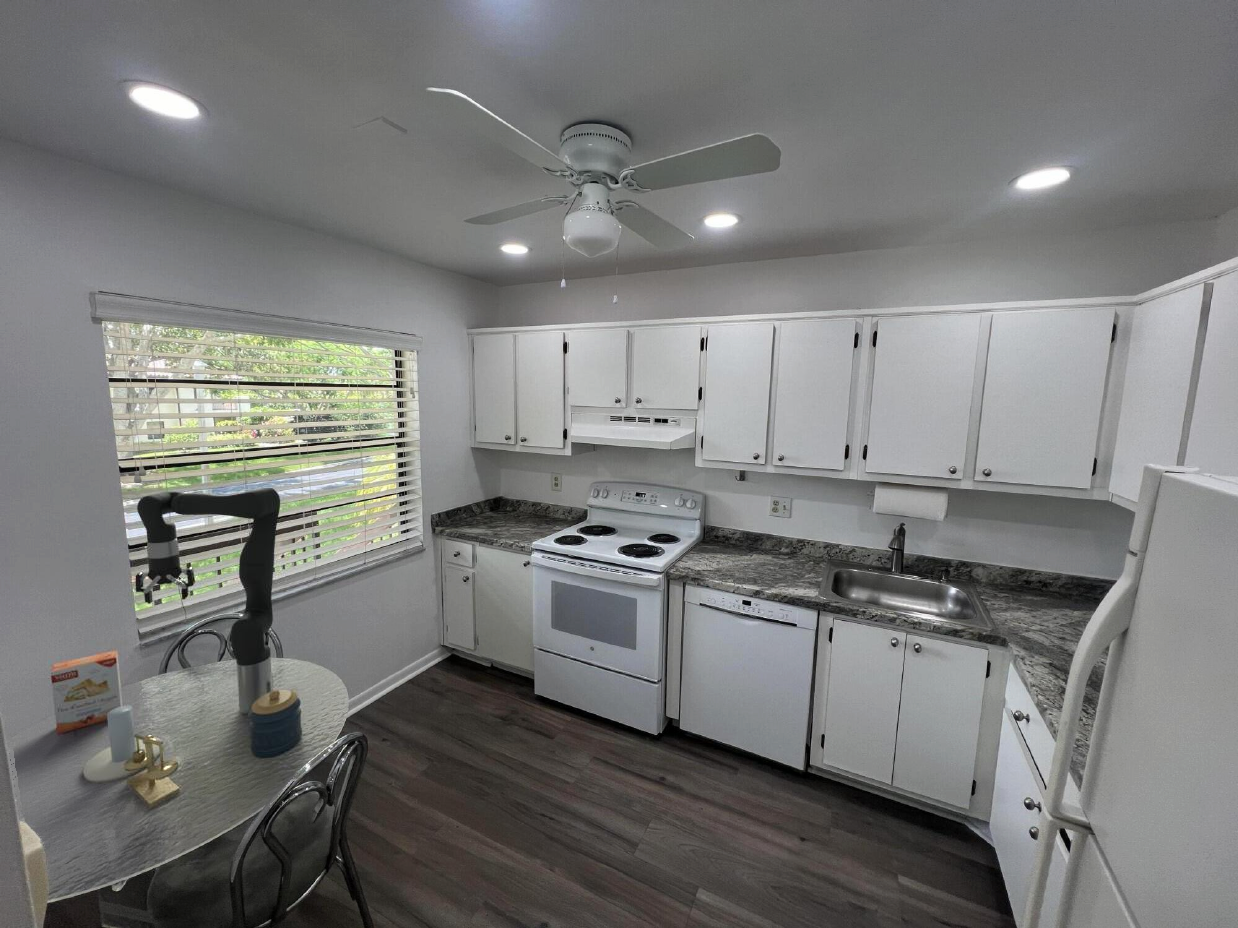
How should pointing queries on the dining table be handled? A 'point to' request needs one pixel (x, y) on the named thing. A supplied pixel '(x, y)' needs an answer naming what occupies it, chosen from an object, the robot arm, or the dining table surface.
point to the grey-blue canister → (121, 733)
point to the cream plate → (111, 765)
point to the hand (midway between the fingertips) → (167, 600)
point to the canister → (275, 723)
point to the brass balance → (151, 773)
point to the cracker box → (85, 690)
